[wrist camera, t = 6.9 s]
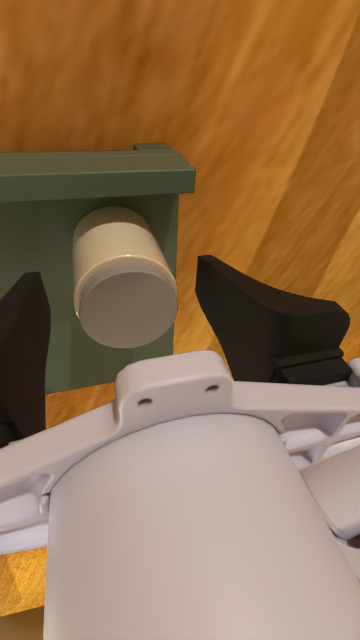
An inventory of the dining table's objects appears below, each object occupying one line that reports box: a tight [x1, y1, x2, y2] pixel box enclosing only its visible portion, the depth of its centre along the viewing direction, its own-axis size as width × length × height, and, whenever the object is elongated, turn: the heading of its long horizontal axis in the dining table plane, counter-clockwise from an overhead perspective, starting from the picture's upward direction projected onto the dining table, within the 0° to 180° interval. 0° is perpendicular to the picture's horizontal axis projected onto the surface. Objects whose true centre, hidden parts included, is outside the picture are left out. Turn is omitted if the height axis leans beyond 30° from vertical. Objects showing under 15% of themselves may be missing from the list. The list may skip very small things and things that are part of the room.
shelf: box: [0, 143, 196, 394], centre depth 19 cm, size 16×12×5 cm
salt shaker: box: [72, 206, 178, 348], centre depth 15 cm, size 4×4×6 cm
